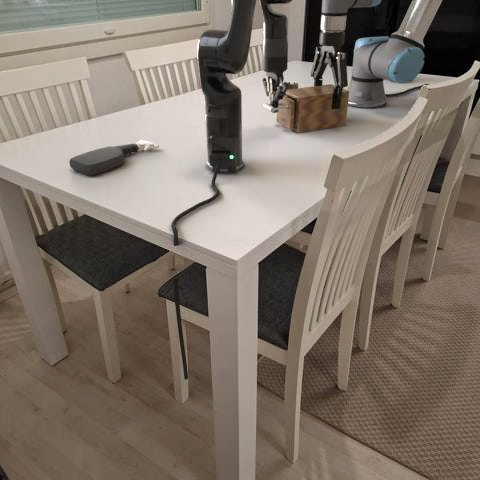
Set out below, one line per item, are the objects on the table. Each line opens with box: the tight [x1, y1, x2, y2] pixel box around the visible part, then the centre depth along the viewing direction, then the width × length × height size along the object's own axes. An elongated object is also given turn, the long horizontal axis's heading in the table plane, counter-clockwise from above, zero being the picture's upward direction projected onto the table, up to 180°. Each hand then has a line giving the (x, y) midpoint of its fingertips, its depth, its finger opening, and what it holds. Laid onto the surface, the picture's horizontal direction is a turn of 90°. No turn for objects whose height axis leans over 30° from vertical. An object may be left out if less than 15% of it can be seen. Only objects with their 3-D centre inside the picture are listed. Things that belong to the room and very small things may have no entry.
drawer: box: [262, 95, 298, 131], centre depth 144 cm, size 23×9×9 cm, turn 113°
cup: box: [283, 81, 300, 90], centre depth 166 cm, size 8×7×8 cm
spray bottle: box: [68, 139, 160, 177], centre depth 124 cm, size 3×11×24 cm
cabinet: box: [284, 83, 349, 133], centre depth 146 cm, size 18×11×11 cm, turn 113°
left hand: (274, 112), depth 141 cm, fingers closed
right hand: (326, 104), depth 147 cm, fingers closed on cabinet, 11 cm apart
